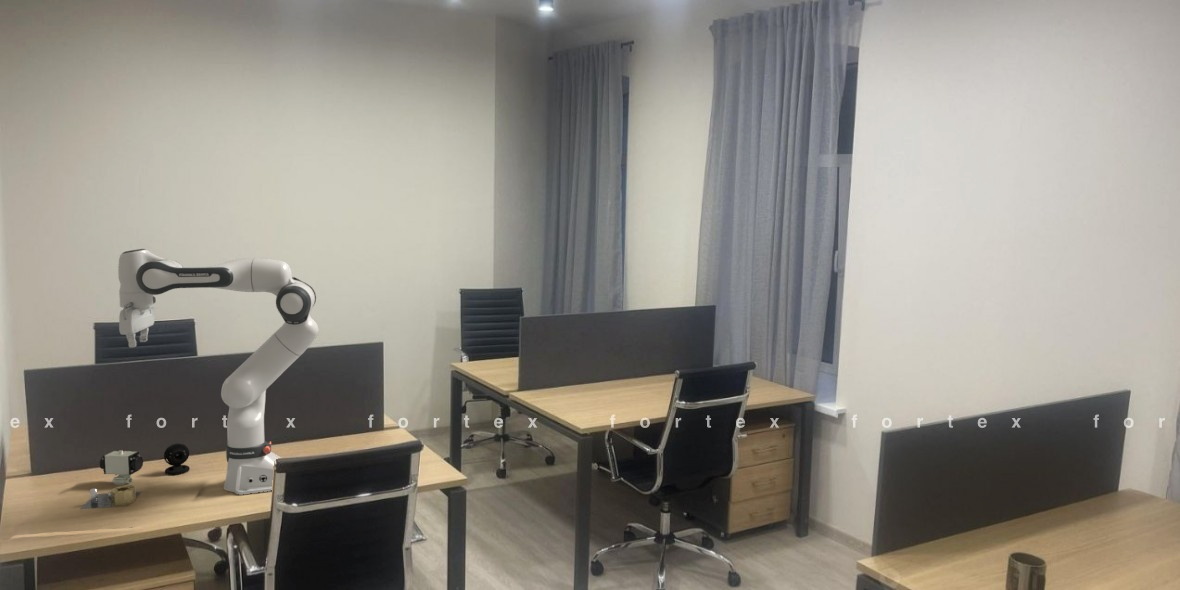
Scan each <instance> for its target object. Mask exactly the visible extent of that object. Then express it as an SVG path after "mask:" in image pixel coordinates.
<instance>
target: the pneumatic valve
mask: <svg viewBox="0 0 1180 590" xmlns="http://www.w3.org/2000/svg"><path fill="white" fill-rule="evenodd" d="M143 465H144V459H143V457H142V456H141V455H140V452H139V451H130V450H127V451H126V450H124V451H123V449H121V450H120V449H119V450H118V451H117V450H112V451H109V452H107V453H106V454H103V455H102V457H101V458H100V460H99V468H100V469H102V471H103V474H104V475H114V477H113V478H112V482H111V483H112V484H114V485H115V486H117V485H118V486H126V485H130V484H132V483H133V478H132V476H131V475H133V474H135V473H137V472H139V471H141V469H142V467H143Z"/></svg>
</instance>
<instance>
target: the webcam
mask: <svg viewBox="0 0 1180 590" xmlns="http://www.w3.org/2000/svg"><path fill="white" fill-rule="evenodd" d="M189 456H190V449H189V447H188V445H186V444H184V443H173V444H170V445H169V446H167V448H165V451H164V452H163V459H164V461H165V462H166V463H167V465H169V466H168V467H167V468H165V470H164V473H165V474H166V475H168V476H179V475H184V474H186V473H188V472H189V471H190V466H189V465H187V464H184V463H185V462H187V461H188V459H189Z"/></svg>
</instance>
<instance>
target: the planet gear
mask: <svg viewBox="0 0 1180 590" xmlns="http://www.w3.org/2000/svg"><path fill="white" fill-rule="evenodd" d="M136 492H137V491H136V486H134V485H133V484H131V485H130V484H126V485H118V486H117V487H113V488H112V489H111V490H110V493H111V504H113V505H115V506H118V505H126V504H129V505H130V504H133V503H134V502H135V501H136V499H137V497H136Z"/></svg>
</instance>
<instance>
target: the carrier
mask: <svg viewBox="0 0 1180 590" xmlns="http://www.w3.org/2000/svg"><path fill="white" fill-rule="evenodd" d="M110 491H111V490H110ZM110 491H108V493H98V488H95V487H94V488H91V489H89V493H90V494H89V497H90V498H89V500H87V501H86V502H85V504H83V505H82V506H81V507H79V510H87V509H88V510H89V509H105V508H120V507H121V508H123V507H129V505H130V504H126V505H118V506H115V505H113V504H111V493H110ZM141 493H142V491H136V498H137V497H138V496H139V495H140V494H141Z"/></svg>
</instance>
